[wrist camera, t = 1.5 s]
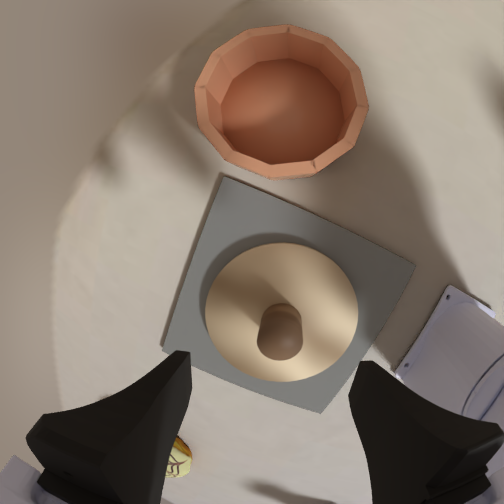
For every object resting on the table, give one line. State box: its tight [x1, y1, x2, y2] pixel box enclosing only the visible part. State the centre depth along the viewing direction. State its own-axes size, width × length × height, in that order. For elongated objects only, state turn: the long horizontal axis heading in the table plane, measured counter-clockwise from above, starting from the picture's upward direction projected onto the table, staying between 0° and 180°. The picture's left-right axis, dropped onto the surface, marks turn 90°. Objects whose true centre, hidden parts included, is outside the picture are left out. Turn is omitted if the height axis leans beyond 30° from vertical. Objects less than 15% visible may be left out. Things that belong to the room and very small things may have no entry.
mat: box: [162, 176, 416, 414], centre depth 21 cm, size 16×16×1 cm
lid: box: [205, 242, 358, 382], centre depth 19 cm, size 12×12×4 cm
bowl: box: [194, 24, 369, 181], centre depth 16 cm, size 10×10×4 cm
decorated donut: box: [165, 437, 192, 478], centre depth 26 cm, size 10×11×4 cm
